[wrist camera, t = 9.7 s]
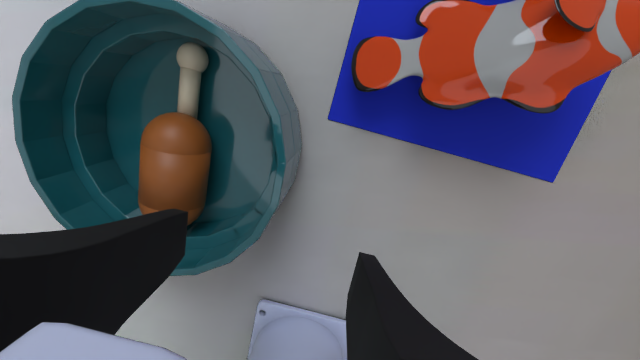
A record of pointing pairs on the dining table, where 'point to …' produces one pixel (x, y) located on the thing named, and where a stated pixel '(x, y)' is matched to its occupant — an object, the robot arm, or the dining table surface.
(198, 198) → the drumstick
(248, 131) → the teal mixing bowl
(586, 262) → the dining table surface
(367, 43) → the fish
